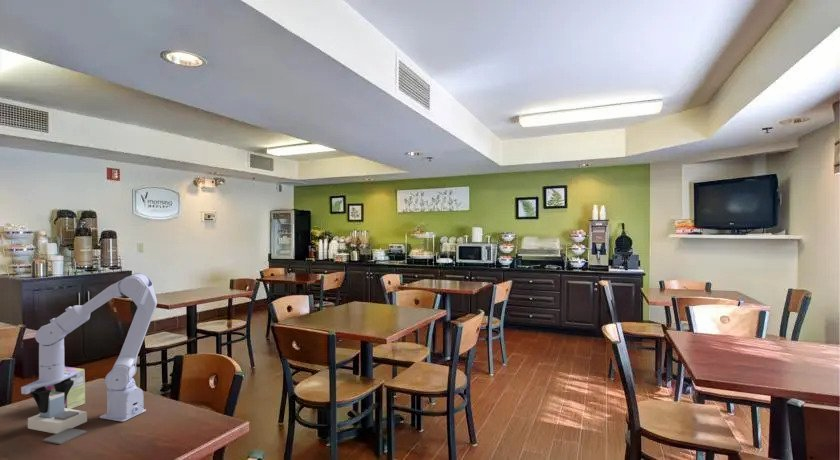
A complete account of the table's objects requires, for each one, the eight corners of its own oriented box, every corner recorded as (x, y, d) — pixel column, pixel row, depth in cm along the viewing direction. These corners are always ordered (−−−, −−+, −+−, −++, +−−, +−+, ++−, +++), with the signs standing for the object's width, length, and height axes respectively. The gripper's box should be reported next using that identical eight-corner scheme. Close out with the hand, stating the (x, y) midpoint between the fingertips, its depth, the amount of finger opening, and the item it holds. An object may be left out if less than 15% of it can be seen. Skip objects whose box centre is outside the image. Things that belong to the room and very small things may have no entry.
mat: (86, 432, 121) (86, 430, 121) (60, 444, 114) (60, 443, 114) (70, 429, 123) (70, 427, 123) (43, 441, 116) (43, 439, 116)
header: (87, 421, 128) (86, 409, 128) (58, 434, 120) (58, 421, 120) (57, 416, 131) (57, 404, 131) (27, 428, 123) (27, 416, 123)
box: (43, 407, 138) (43, 370, 138) (63, 400, 143) (63, 365, 143) (66, 411, 135) (66, 374, 135) (85, 404, 140) (85, 368, 140)
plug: (64, 419, 127) (64, 392, 127) (49, 425, 124) (49, 397, 124) (54, 417, 129) (54, 391, 128) (39, 423, 125) (39, 396, 125)
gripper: (68, 355, 134) (68, 397, 134) (13, 370, 120) (13, 417, 120) (84, 357, 132) (84, 400, 132) (31, 372, 118) (31, 421, 118)
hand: (52, 409), depth 126 cm, fingers closed on plug, 4 cm apart
